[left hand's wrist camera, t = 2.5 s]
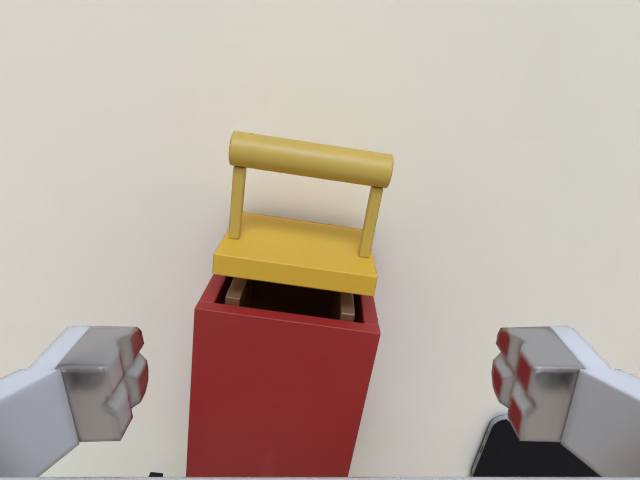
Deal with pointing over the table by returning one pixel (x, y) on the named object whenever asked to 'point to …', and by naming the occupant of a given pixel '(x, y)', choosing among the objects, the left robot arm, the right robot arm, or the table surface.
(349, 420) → the red open box
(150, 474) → the right robot arm
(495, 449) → the smartphone
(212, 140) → the table surface
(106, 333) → the left robot arm
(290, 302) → the drawer
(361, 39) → the table surface
